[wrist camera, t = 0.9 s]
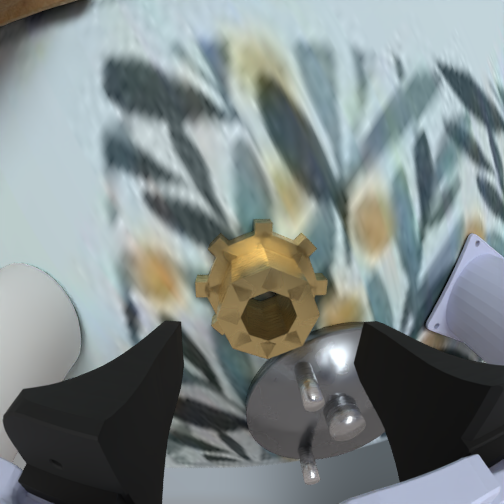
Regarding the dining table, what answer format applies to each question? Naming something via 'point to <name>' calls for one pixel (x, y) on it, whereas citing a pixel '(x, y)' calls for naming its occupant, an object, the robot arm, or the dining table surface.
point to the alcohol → (33, 336)
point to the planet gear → (262, 290)
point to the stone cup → (25, 8)
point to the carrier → (313, 400)
